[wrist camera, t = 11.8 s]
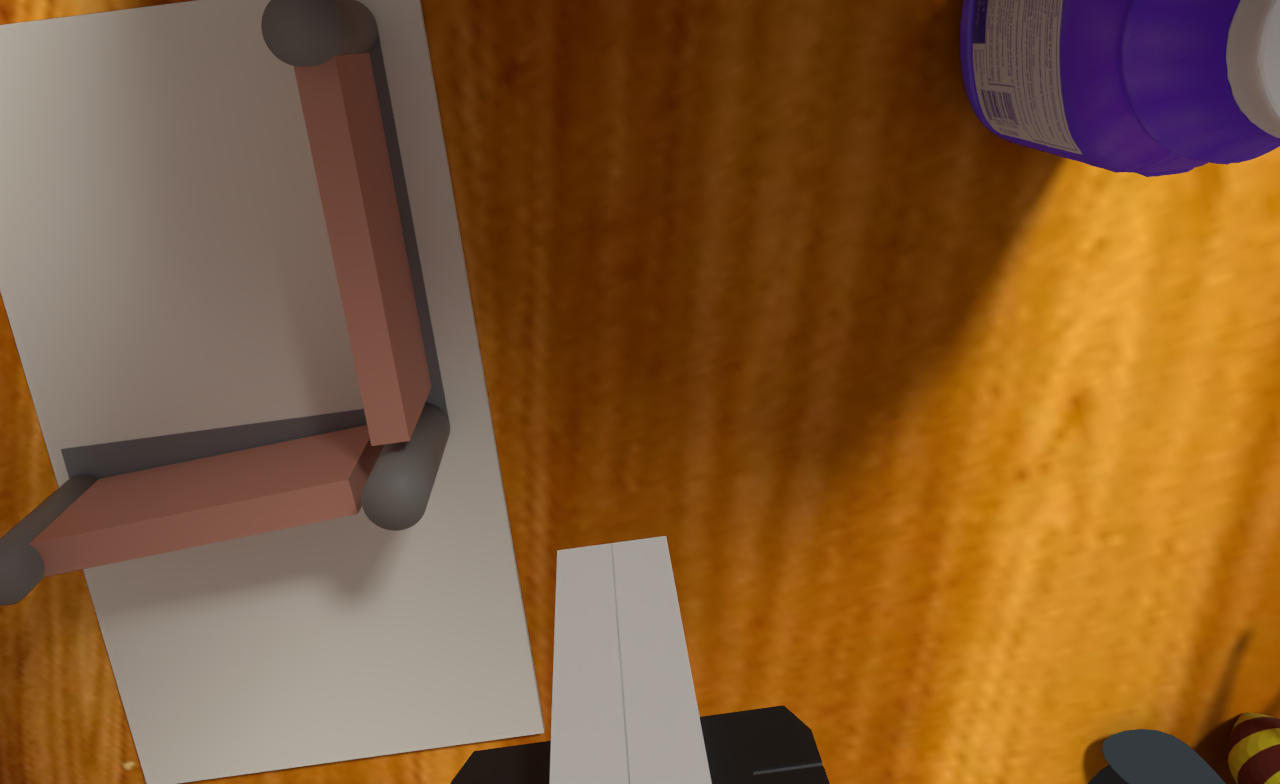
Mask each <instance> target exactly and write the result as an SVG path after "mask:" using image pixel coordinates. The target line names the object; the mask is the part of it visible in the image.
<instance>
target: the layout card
mask: <svg viewBox="0 0 1280 784" xmlns="http://www.w3.org/2000/svg"><path fill="white" fill-rule="evenodd" d="M270 1H271V0H196V1H188V2H180V3H172V4H164V5H156V6H148V7H140V8H133V9H125V10H117V11H109V12H101V13H93V14H85V15H77V16H69V17H62V18H54V19H46V20H38V21H30V22H22V23H14V24H6V25H0V292H1V295H2V298H3V302H4V305H5V308H6V312H7V315H8V318H9V322H10V325H11V329H12V332H13V335H14V339H15V342H16V345H17V349H18V352H19V356H20V359H21V362H22V366H23V369H24V372H25V376H26V379H27V383H28V386H29V389H30V393H31V396H32V399H33V403H34V406H35V409H36V413H37V416H38V420H39V423H40V426H41V430H42V433H43V436H44V440H45V443H46V447H47V450H48V453H49V457H50V460H51V463H52V467H53V470H54V473H55V477H56V480H57V484H58V487H60V486H62V485H63V484H64V483H65V482H66V481H67V480H69V479H70V478H72V477H74V476H77V475H91V476H94V477H96V478H98V479H101V478H106V477H111V476H116V475H121V474H126V473H131V472H136V471H141V470H146V469H151V468H156V467H161V466H166V465H171V464H176V463H181V462H186V461H191V460H196V459H201V458H205V457H210V456H215V455H220V454H225V453H230V452H235V451H240V450H245V449H250V448H255V447H260V446H265V445H270V444H275V443H280V442H285V441H290V440H295V439H300V438H305V437H310V436H314V435H319V434H324V433H329V432H334V431H339V430H344V429H349V428H354V427H359V426H364V425H367V421H366V416H365V412H364V407H363V402H362V397H361V392H360V387H359V382H358V377H357V373H356V368H355V363H354V358H353V353H352V348H351V343H350V338H349V334H348V329H347V324H346V319H345V314H344V309H343V304H342V300H341V295H340V290H339V285H338V280H337V275H336V270H335V265H334V261H333V256H332V251H331V246H330V241H329V236H328V231H327V226H326V222H325V217H324V212H323V207H322V202H321V197H320V192H319V188H318V183H317V178H316V173H315V168H314V163H313V158H312V153H311V149H310V144H309V139H308V134H307V129H306V124H305V119H304V114H303V110H302V105H301V100H300V95H299V90H298V85H297V80H296V76H295V71H294V66H292V65H289V64H286V63H284V62H282V61H281V60H279V59H278V58H277V57H276V56H275V55H274V54H273V53H272V52H271V51H270V50H269V48H268V47H267V45H266V43H265V41H264V38H263V35H262V29H261V22H262V16H263V12H264V10H265V8H266V6H267V4H268V3H269V2H270ZM356 1H359V2H361V3H362V4H364V5H365V6H366V7H367V8H368V9H369V10H370V11H371V12H372V14H373V16H374V17H375V20H376V22H377V29H378V36H377V41H376V44H375V46H374V48H373V50H372V51H371V52H370V57H371V62H372V68H373V73H374V79H375V84H376V89H377V95H378V100H379V106H380V111H381V116H382V122H383V127H384V133H385V138H386V143H387V149H388V154H389V159H390V165H391V170H392V176H393V181H394V186H395V192H396V197H397V203H398V208H399V213H400V219H401V224H402V230H403V235H404V240H405V246H406V251H407V257H408V262H409V267H410V273H411V278H412V284H413V289H414V294H415V300H416V305H417V311H418V316H419V321H420V327H421V332H422V338H423V343H424V348H425V354H426V359H427V365H428V370H429V375H430V381H431V386H432V387H431V390H430V392H429V395H428V397H427V400H426V402H427V403H431V404H434V405H436V406H437V407H439V408H440V409H441V410H442V411H443V412H444V413H445V414H446V416H447V418H448V420H449V424H450V434H449V437H448V440H447V444H446V447H445V450H444V453H443V456H442V459H441V463H440V466H439V469H438V472H437V475H436V479H435V482H434V485H433V488H432V491H431V494H430V498H429V501H428V504H427V507H426V510H425V513H424V515H423V517H422V518H421V519H420V521H419V522H418V523H416V524H415V525H414V526H412V527H410V528H408V529H405V530H399V531H392V530H386V529H383V528H381V527H379V526H377V525H375V524H374V523H373V522H372V521H370V520H369V518H368V517H367V516H366V514H365V512H364V510H363V507H361V509H360V511H359V513H358V514H355V515H350V516H345V517H340V518H335V519H330V520H325V521H320V522H316V523H311V524H306V525H301V526H296V527H291V528H286V529H281V530H276V531H271V532H266V533H261V534H256V535H251V536H246V537H241V538H236V539H231V540H226V541H221V542H216V543H211V544H206V545H201V546H196V547H191V548H186V549H181V550H176V551H172V552H167V553H162V554H157V555H152V556H147V557H142V558H137V559H132V560H127V561H122V562H117V563H112V564H107V565H102V566H97V567H92V568H87V569H83V571H84V575H85V578H86V581H87V585H88V588H89V591H90V595H91V598H92V602H93V605H94V608H95V612H96V615H97V618H98V622H99V625H100V628H101V632H102V635H103V639H104V642H105V645H106V649H107V652H108V655H109V659H110V662H111V666H112V669H113V672H114V676H115V679H116V682H117V686H118V689H119V693H120V696H121V699H122V703H123V706H124V709H125V713H126V716H127V719H128V723H129V726H130V730H131V733H132V736H133V740H134V743H135V746H136V750H137V753H138V757H139V760H140V763H141V767H142V770H143V773H144V777H145V780H146V784H178V783H185V782H193V781H200V780H207V779H214V778H222V777H229V776H236V775H243V774H251V773H258V772H265V771H272V770H280V769H287V768H294V767H302V766H309V765H316V764H323V763H331V762H338V761H345V760H352V759H360V758H367V757H374V756H381V755H389V754H396V753H403V752H410V751H418V750H425V749H432V748H440V747H447V746H454V745H461V744H469V743H476V742H483V741H490V740H498V739H505V738H512V737H519V736H527V735H534V734H541V733H544V722H543V716H542V710H541V704H540V699H539V693H538V687H537V681H536V675H535V669H534V663H533V657H532V652H531V646H530V640H529V634H528V628H527V622H526V616H525V610H524V605H523V599H522V593H521V587H520V581H519V575H518V569H517V563H516V558H515V552H514V546H513V540H512V534H511V528H510V522H509V516H508V511H507V505H506V499H505V493H504V487H503V481H502V475H501V469H500V464H499V458H498V452H497V446H496V440H495V434H494V428H493V422H492V417H491V411H490V405H489V399H488V393H487V387H486V381H485V375H484V370H483V364H482V358H481V352H480V346H479V340H478V334H477V328H476V323H475V317H474V311H473V305H472V299H471V293H470V287H469V281H468V276H467V270H466V264H465V258H464V252H463V246H462V240H461V234H460V229H459V223H458V217H457V211H456V205H455V199H454V193H453V187H452V182H451V176H450V170H449V164H448V158H447V152H446V146H445V140H444V135H443V129H442V123H441V117H440V111H439V105H438V99H437V93H436V88H435V82H434V76H433V70H432V64H431V58H430V52H429V46H428V41H427V35H426V29H425V23H424V17H423V11H422V5H421V0H356Z"/></svg>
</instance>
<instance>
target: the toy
mask: <svg viewBox="0 0 1280 784" xmlns="http://www.w3.org/2000/svg"><path fill="white" fill-rule="evenodd" d="M1102 751H1103V754H1104V756H1105V759H1106V761H1107V762H1108V763H1109V764H1110V766H1109V767H1106V768H1104V769H1102V770H1101V771H1100V772H1099V773H1098V774H1097V775H1096V776H1095V777H1094V778H1093V779H1092V780H1091V781H1090V782H1089V783H1088V784H1226V783H1225V782H1224V781H1223V780H1222V779H1221V777H1220V776H1219V775H1218V774H1217V773H1216V772H1215V771H1214V770H1213V769H1212V768H1211V767H1210V766H1209V764H1208V763H1207V762H1206V761H1205V760H1204V759H1203V758H1202V757H1201V756H1200V755H1199V754H1198V753H1196V752H1195V751H1194V750H1193V749H1192V748H1190V747H1189V746H1188V745H1187V744H1185V743H1184V742H1182V741H1181V740H1179V739H1177V738H1176V737H1174V736H1172V735H1169V734H1166V733H1163V732H1160V731H1156V730H1145V729H1138V730H1128V731H1123V732H1120V733H1117V734H1114V735H1111V736H1110V737H1109V738H1107V739H1106V740H1105V741H1104V742H1103V747H1102ZM1227 758H1228V764H1229V768H1230V772H1231V774H1232V776H1233V778H1234V780H1235V782H1236V783H1237V784H1280V719H1278V718H1275V717H1272V716H1268V715H1263V714H1256V713H1242V714H1241V715H1240V717H1239V718H1238V720H1237V721H1236V723H1235V725H1234V727H1233V729H1232V731H1231V733H1230V736H1229V741H1228V748H1227Z"/></svg>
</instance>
